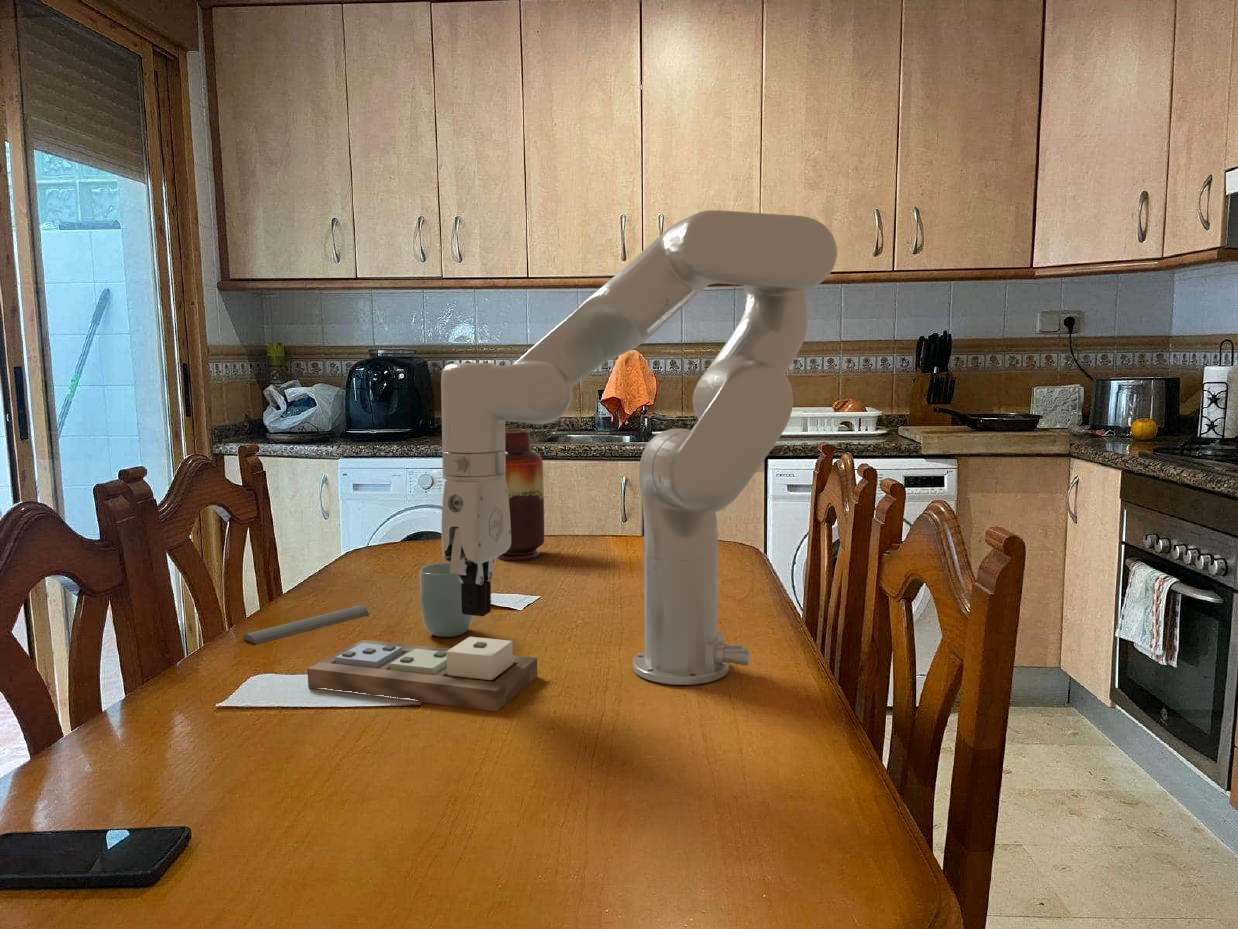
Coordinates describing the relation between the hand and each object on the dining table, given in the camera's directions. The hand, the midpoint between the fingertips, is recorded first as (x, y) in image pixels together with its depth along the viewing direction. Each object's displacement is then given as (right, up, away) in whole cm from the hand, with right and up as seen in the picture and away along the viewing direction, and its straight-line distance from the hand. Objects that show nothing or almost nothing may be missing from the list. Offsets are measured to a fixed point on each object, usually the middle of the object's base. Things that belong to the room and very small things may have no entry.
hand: (476, 613), depth 110 cm
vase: (-3, -1, +76) cm, 76 cm away
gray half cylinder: (-30, -7, +28) cm, 42 cm away
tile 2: (-7, -9, +4) cm, 12 cm away
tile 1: (0, -7, +1) cm, 7 cm away
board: (-7, -9, +4) cm, 12 cm away
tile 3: (-15, -9, +6) cm, 18 cm away
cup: (-8, -7, +24) cm, 26 cm away
